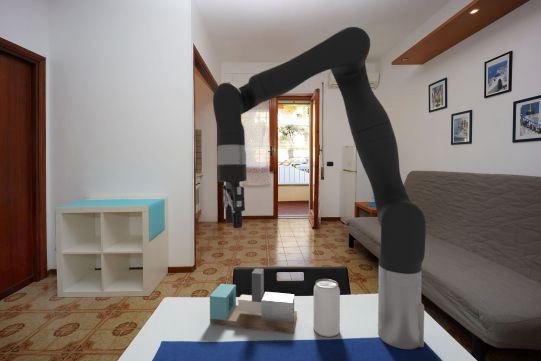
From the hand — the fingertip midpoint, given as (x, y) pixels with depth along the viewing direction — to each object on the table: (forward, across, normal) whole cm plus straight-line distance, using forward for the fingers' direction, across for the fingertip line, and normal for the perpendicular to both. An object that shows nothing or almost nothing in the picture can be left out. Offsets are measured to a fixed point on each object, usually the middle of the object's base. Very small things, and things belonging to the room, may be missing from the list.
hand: (233, 225), depth 72 cm
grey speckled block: (+25, -4, -10) cm, 27 cm away
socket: (+24, +4, +2) cm, 25 cm away
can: (+27, -12, -20) cm, 36 cm away
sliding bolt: (+23, -3, -7) cm, 24 cm away
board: (+26, -1, -5) cm, 27 cm away
